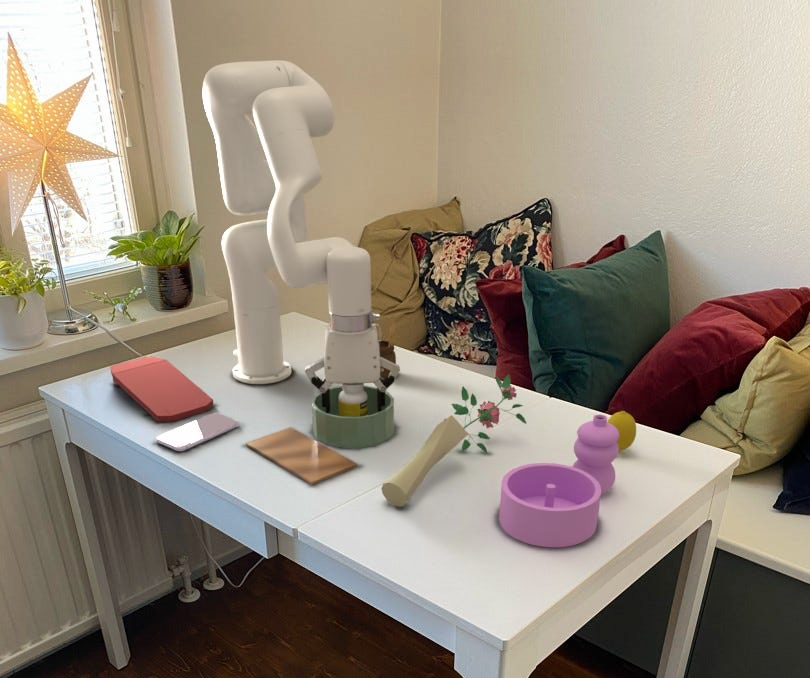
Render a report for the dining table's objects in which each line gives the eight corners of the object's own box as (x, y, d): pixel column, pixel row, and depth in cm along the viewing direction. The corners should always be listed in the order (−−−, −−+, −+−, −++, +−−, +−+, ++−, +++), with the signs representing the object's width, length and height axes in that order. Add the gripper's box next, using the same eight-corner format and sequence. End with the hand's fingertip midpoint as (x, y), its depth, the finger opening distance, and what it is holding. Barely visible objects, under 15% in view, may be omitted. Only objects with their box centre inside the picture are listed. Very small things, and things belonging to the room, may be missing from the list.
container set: (563, 558, 130) (573, 480, 123) (480, 524, 138) (484, 448, 131) (642, 495, 146) (654, 422, 139) (563, 467, 154) (571, 397, 147)
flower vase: (385, 534, 150) (483, 421, 170) (442, 538, 142) (538, 419, 162) (358, 477, 144) (463, 368, 164) (416, 479, 136) (519, 363, 156)
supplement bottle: (364, 437, 164) (363, 388, 159) (336, 434, 165) (334, 386, 160) (371, 425, 169) (370, 377, 163) (343, 422, 170) (342, 375, 164)
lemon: (613, 442, 163) (618, 402, 159) (638, 451, 160) (645, 411, 155) (595, 451, 160) (601, 411, 155) (621, 461, 156) (627, 420, 152)
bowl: (297, 428, 167) (295, 399, 164) (359, 406, 176) (358, 378, 173) (347, 455, 158) (346, 425, 155) (410, 431, 167) (410, 402, 163)
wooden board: (246, 445, 161) (245, 442, 161) (290, 430, 167) (290, 427, 167) (311, 485, 149) (311, 482, 148) (357, 466, 154) (357, 463, 154)
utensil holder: (379, 368, 194) (378, 314, 187) (402, 374, 190) (402, 320, 184) (362, 376, 190) (361, 322, 183) (386, 382, 186) (385, 328, 180)
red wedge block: (217, 423, 177) (156, 370, 191) (216, 402, 174) (155, 349, 188) (162, 440, 171) (104, 384, 184) (161, 418, 168) (101, 363, 181)
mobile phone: (241, 420, 168) (179, 448, 158) (242, 425, 168) (180, 453, 158) (215, 410, 171) (152, 436, 162) (215, 415, 172) (153, 441, 162)
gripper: (398, 313, 159) (399, 401, 168) (303, 314, 158) (308, 402, 167) (400, 326, 152) (400, 417, 162) (300, 328, 152) (306, 419, 161)
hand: (354, 409), depth 164 cm, fingers open, 9 cm apart
